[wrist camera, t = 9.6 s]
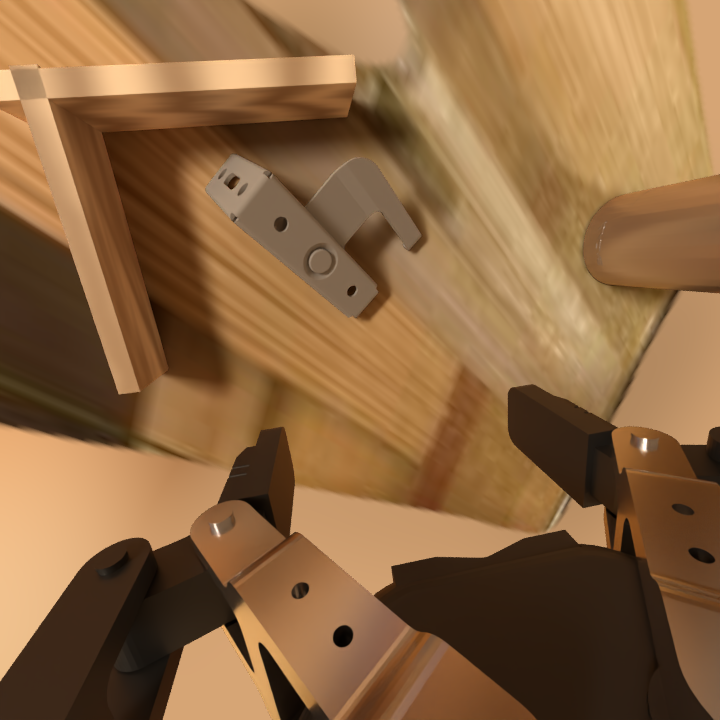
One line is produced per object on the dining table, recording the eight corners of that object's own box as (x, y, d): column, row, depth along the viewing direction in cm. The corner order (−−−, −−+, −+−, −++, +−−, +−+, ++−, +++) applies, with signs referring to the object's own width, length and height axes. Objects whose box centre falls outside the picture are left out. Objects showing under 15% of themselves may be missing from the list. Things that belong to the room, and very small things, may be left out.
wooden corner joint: (344, 92, 29) (353, 51, 23) (369, 341, 35) (381, 356, 30) (45, 109, 26) (-28, 67, 21) (129, 374, 33) (92, 398, 27)
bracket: (280, 90, 28) (332, 89, 22) (373, 213, 39) (428, 239, 32) (203, 189, 30) (229, 219, 23) (313, 283, 40) (354, 323, 33)
